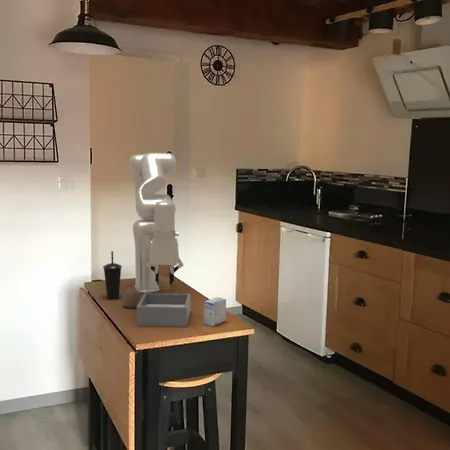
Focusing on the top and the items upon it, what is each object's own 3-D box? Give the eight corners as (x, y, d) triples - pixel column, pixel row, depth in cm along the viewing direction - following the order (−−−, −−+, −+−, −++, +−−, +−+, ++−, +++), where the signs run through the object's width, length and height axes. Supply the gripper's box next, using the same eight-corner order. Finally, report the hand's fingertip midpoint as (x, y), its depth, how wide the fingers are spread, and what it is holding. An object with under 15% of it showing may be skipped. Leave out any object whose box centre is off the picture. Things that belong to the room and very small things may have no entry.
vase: (141, 304, 230) (141, 283, 228) (139, 309, 223) (139, 287, 221) (124, 304, 229) (123, 283, 228) (121, 309, 223) (121, 287, 221)
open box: (144, 310, 221) (144, 293, 220) (190, 311, 221) (190, 294, 220) (136, 325, 203) (136, 306, 202) (186, 326, 203) (186, 307, 202)
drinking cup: (106, 295, 242) (105, 249, 239) (123, 295, 242) (123, 249, 239) (101, 300, 234) (100, 253, 231) (120, 300, 234) (119, 253, 231)
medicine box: (216, 318, 212) (216, 296, 211) (226, 321, 210) (226, 298, 208) (203, 324, 206) (203, 301, 205) (213, 326, 203) (213, 303, 202)
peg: (160, 286, 212) (159, 260, 211) (170, 286, 212) (170, 260, 211) (158, 289, 208) (158, 262, 207) (169, 289, 208) (169, 262, 207)
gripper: (188, 233, 211) (188, 281, 213) (143, 233, 211) (143, 281, 214) (186, 237, 203) (186, 286, 206) (140, 236, 204) (140, 286, 206)
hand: (164, 283), depth 210 cm, fingers closed on peg, 4 cm apart
